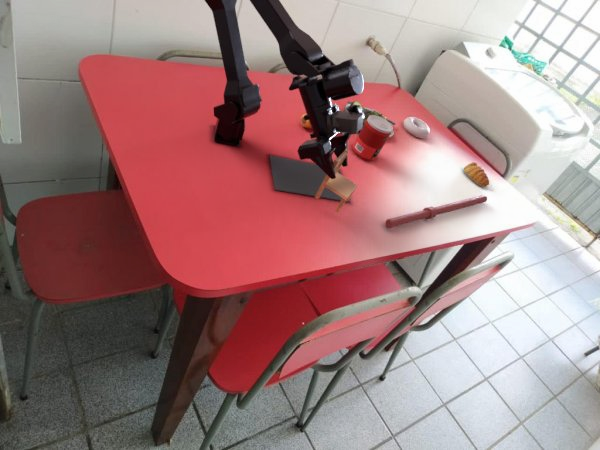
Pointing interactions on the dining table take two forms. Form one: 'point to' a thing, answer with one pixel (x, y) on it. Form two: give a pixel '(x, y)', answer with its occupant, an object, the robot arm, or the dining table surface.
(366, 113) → the salad plate
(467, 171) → the pastry
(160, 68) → the dining table surface
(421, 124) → the donut
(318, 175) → the mat
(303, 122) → the carrot
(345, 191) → the toy chair
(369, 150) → the canned food
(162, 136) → the dining table surface
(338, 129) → the robot arm
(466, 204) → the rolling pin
